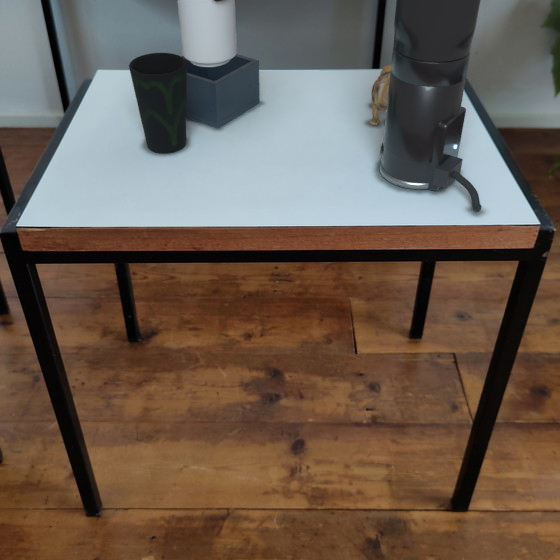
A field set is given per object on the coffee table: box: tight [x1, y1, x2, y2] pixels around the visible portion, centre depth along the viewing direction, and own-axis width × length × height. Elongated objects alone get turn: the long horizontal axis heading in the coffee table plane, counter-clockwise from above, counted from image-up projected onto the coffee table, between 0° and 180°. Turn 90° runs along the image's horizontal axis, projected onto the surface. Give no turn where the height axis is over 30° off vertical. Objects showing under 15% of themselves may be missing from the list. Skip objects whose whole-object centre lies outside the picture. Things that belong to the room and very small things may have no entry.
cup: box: [128, 52, 187, 155], centre depth 100 cm, size 8×8×12 cm
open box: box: [181, 53, 261, 129], centre depth 111 cm, size 11×11×7 cm
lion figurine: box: [369, 63, 392, 126], centre depth 109 cm, size 15×5×9 cm, turn 176°
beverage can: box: [176, 0, 238, 67], centre depth 81 cm, size 6×6×12 cm
